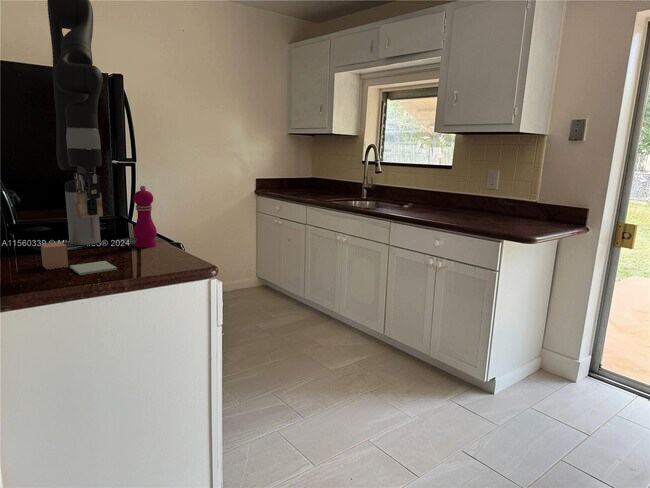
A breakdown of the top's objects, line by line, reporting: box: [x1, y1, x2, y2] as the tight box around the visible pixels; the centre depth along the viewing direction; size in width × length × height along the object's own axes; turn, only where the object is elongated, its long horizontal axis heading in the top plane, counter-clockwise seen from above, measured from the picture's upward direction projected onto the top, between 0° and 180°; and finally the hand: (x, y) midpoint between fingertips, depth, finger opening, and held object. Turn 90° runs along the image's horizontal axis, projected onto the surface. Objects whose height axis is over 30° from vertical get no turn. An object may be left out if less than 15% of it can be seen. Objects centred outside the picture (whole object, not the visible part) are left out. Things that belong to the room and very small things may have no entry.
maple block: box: [74, 192, 104, 218], centre depth 116 cm, size 5×5×6 cm
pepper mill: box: [132, 185, 158, 248], centre depth 146 cm, size 7×7×20 cm
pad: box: [69, 260, 118, 276], centre depth 119 cm, size 9×9×1 cm
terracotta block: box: [40, 241, 69, 271], centre depth 120 cm, size 5×5×6 cm
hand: (89, 213), depth 116 cm, fingers closed on maple block, 5 cm apart
